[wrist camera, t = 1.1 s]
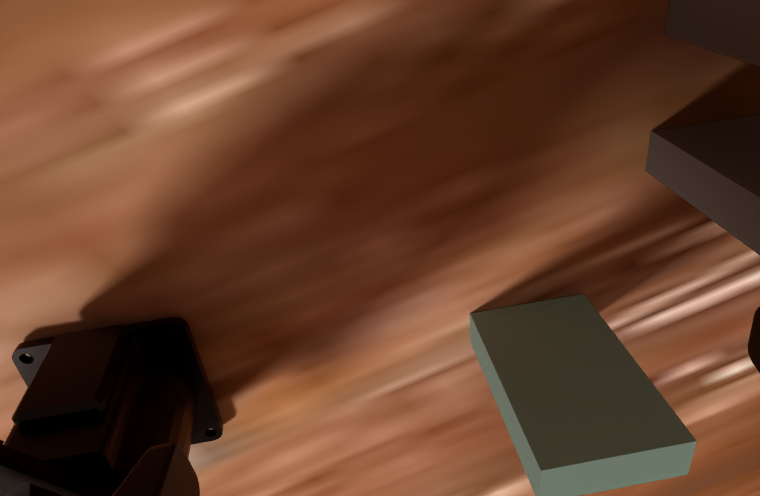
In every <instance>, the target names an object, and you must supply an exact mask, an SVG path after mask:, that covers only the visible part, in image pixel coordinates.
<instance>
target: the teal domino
mask: <svg viewBox="0 0 760 496" xmlns="http://www.w3.org/2000/svg"><path fill="white" fill-rule="evenodd" d="M470 330H471V344H472V346H473V349H474V351H475V353H476V356H477V358H478V360H479V363H480V365H481V367H482V370H483V372H484V375H485V377H486V379H487V382H488V384H489V386H490V389H491V391H492V394H493V396H494V398H495V401H496V403H497V405H498V408H499V410H500V413H501V415H502V417H503V420H504V422H505V424H506V427H507V429H508V432H509V434H510V436H511V439H512V441H513V443H514V446H515V448H516V450H517V453H518V455H519V458H520V460H521V462H522V465H523V467H524V469H525V472H526V474H527V477H528V479H529V481H530V484H531V486H532V488H533V491H534V493H535V496H580V495H585V494H590V493H595V492H600V491H605V490H611V489H616V488H621V487H626V486H631V485H636V484H642V483H647V482H652V481H657V480H662V479H667V478H672V477H678V476H683V475H688V472H689V468H690V465H691V461H692V457H693V453H694V450H695V446H696V442H697V441H696V440H695V438H694V437H693V436H692V434H691V433H690V432H689V430H688V429H687V428H686V426H685V425H684V424H683V423H682V421H681V420H680V419H679V417H678V416H677V415H676V413H675V412H674V411H673V409H672V408H671V407H670V406H669V404H668V403H667V402H666V400H665V399H664V398H663V396H662V395H661V394H660V393H659V391H658V390H657V389H656V387H655V386H654V385H653V383H652V382H651V381H650V379H649V378H648V377H647V376H646V374H645V373H644V372H643V370H642V369H641V368H640V366H639V365H638V364H637V362H636V361H635V360H634V359H633V357H632V356H631V355H630V353H629V352H628V351H627V349H626V348H625V347H624V346H623V344H622V343H621V342H620V340H619V339H618V338H617V336H616V335H615V334H614V332H613V331H612V330H611V329H610V327H609V326H608V325H607V323H606V322H605V321H604V319H603V318H602V317H601V315H600V314H599V313H598V312H597V310H596V309H595V308H594V306H593V305H592V304H591V302H590V301H589V300H588V298H587V297H586V296H585V295H584V294H580V295H574V296H568V297H563V298H557V299H551V300H545V301H539V302H533V303H527V304H522V305H516V306H510V307H504V308H498V309H492V310H486V311H481V312H475V313H470Z"/></svg>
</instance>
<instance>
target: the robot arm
mask: <svg viewBox="0 0 760 496" xmlns="http://www.w3.org/2000/svg"><path fill="white" fill-rule="evenodd" d="M170 329H177V330H179V331H180V332H178V333H173V332H171V331H170ZM748 353H749V356H750V358H751V361H752V362H753V364H754V365H755V367H756V368H757V370H758V371H759V373H760V307H759V308H758V309H757V310H756V311H755V314H754V318H753V323H752V327H751V332H750V337H749V341H748ZM25 354H30V355H32V356H33V357H29V356H26V355H25ZM12 360H13V362H14V364H15V366H16V367H17V369H18V371H19V372H20V374H21V376H22V378H23V379H24V381H25V383H26V385H27V386H28V388H27V390H26V392H25V394H24V396H23V398H22V399H21V401H20V403H19V405H18V407H17V409H16V411H15V412H14V414H13V416H12V420H13V422H14V426H13V428H12V430H11V432H10V434H9V436H8V437H7V439H6V441H5V443H4V441H2V440H0V496H200V489H199V482H198V478H197V475H196V473H195V471H194V469H193V467H192V465H191V463H190V462H189V460H188V456H189V451H190V445H191V444H197V443H202V442H208V441H213V440H216V439H218V438H220V437H221V435H222V432H223V422H222V419H221V416H220V414H219V411H218V408H217V405H216V402H215V399H214V396H213V394H212V391H211V388H210V385H209V382H208V379H207V377H206V374H205V371H204V368H203V365H202V362H201V360H200V357H199V354H198V351H197V348H196V345H195V342H194V340H193V337H192V334H191V331H190V328H189V325H188V324H187V322H186V321H184V320H183V319H181V318H177V317H176V318H166V319H160V320H154V321H148V322H142V323H136V324H130V325H116V326H110V327H104V328H98V329H92V330H86V331H80V332H74V333H68V334H62V335H58V336H56V337H51V338H45V339H39V340H33V341H27V342H23V343H20V344H19V345H18V346H17V348H16V349H15V351H14V352H13V355H12ZM209 428H212V429H213V430H210V429H209ZM3 443H4V445H3Z"/></svg>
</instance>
